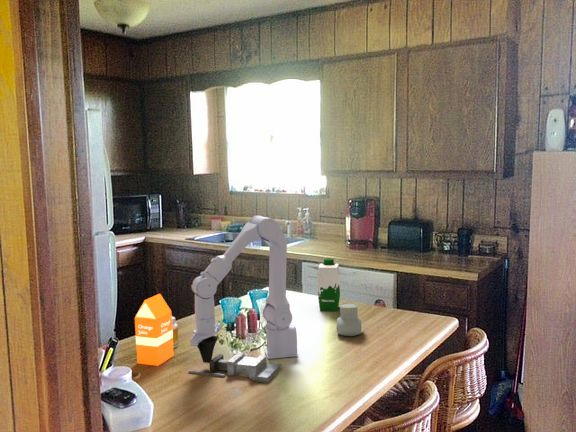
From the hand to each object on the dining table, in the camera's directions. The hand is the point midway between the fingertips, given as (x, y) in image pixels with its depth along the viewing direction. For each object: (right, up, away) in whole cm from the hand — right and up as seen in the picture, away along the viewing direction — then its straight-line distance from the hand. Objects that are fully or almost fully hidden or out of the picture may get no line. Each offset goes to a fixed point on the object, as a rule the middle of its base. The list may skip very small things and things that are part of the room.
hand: (207, 361), depth 159 cm
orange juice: (-17, -2, +8) cm, 19 cm away
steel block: (+12, -2, -4) cm, 13 cm away
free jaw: (+6, -2, -2) cm, 7 cm away
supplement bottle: (-15, -1, +20) cm, 25 cm away
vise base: (+8, -2, -3) cm, 9 cm away
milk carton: (+41, +5, +59) cm, 72 cm away
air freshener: (+45, +2, +27) cm, 53 cm away
